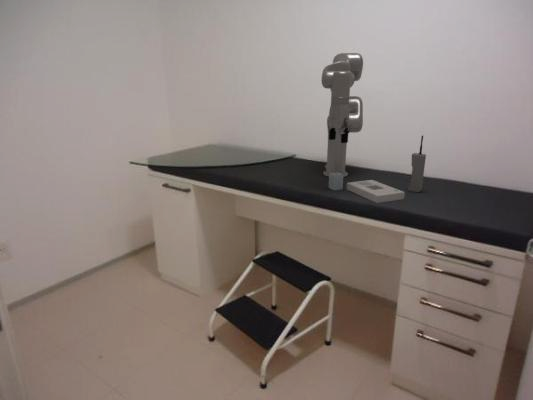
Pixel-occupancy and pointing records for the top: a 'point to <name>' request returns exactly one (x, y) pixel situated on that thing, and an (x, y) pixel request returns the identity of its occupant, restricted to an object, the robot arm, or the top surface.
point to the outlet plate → (375, 191)
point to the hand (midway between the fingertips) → (338, 141)
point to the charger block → (336, 181)
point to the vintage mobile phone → (417, 170)
